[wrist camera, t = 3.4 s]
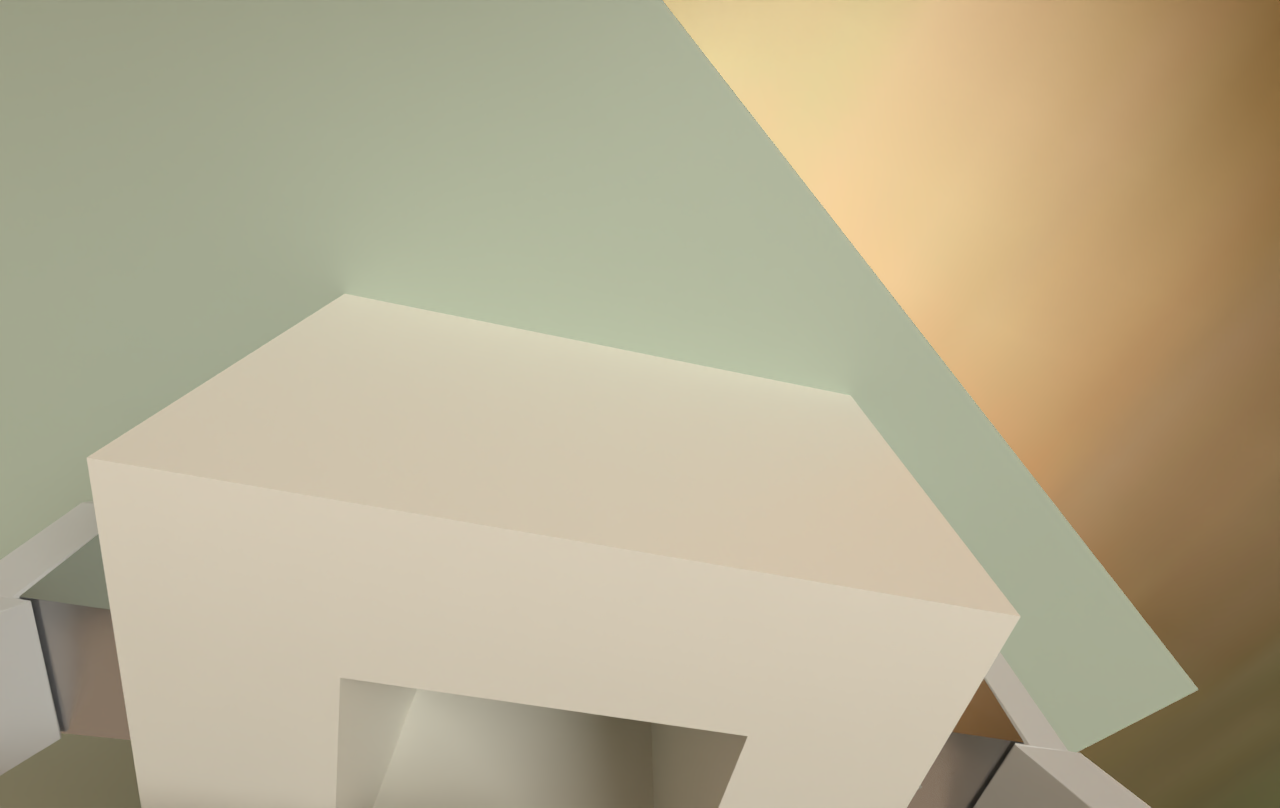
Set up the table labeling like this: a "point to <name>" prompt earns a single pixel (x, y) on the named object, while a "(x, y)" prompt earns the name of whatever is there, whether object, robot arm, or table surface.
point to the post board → (461, 263)
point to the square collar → (527, 581)
